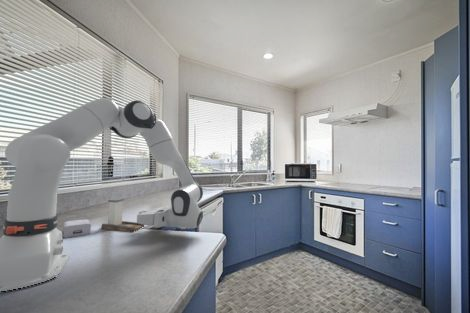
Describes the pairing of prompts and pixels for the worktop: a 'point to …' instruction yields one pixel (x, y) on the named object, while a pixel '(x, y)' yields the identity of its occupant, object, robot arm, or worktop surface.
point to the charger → (76, 228)
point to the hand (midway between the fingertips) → (140, 213)
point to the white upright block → (115, 211)
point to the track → (123, 226)
